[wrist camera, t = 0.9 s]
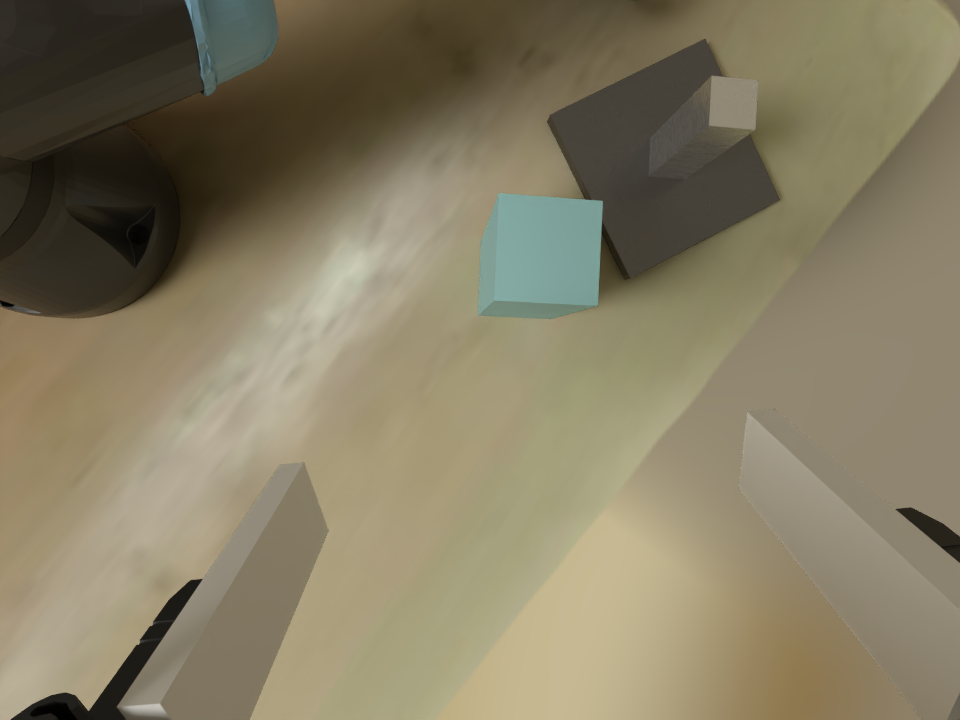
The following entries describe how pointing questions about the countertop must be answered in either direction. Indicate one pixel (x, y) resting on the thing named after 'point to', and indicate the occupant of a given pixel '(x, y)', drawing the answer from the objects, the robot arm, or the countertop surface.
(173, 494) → the countertop surface
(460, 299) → the countertop surface
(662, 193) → the gray square peg stand
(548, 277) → the teal upright box
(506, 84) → the countertop surface
